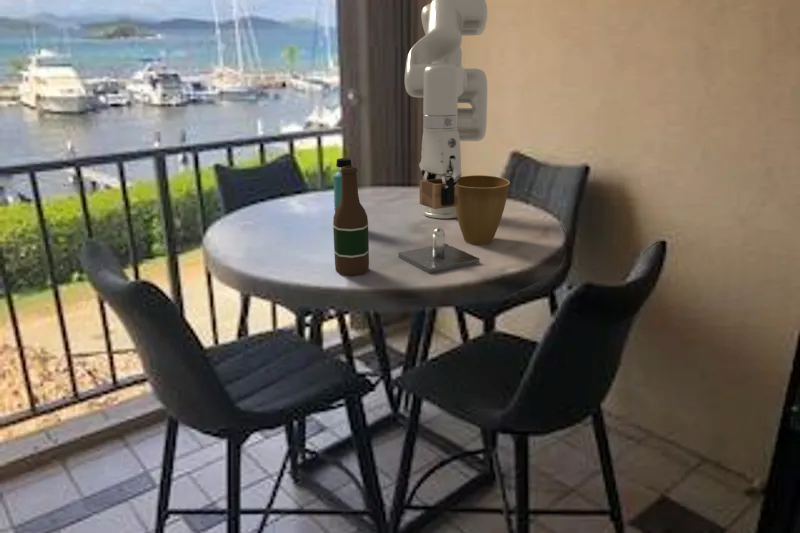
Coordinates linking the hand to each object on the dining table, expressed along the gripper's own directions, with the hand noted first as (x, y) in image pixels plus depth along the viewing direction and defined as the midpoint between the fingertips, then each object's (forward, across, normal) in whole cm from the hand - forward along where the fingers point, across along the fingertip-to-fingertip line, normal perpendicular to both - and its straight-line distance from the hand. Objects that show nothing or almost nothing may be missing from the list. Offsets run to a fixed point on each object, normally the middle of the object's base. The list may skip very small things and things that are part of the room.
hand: (439, 201), depth 145 cm
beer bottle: (+15, +4, +21) cm, 26 cm away
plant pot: (+15, +8, -18) cm, 25 cm away
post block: (+15, 0, 0) cm, 15 cm away
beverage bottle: (+14, +36, +7) cm, 40 cm away
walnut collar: (+1, 0, 0) cm, 1 cm away
